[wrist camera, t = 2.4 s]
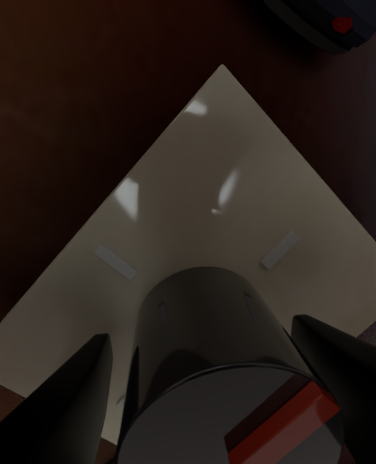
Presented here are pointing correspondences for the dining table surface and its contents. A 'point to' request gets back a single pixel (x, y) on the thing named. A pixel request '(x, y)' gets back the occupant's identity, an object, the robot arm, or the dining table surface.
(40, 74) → the dining table surface
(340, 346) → the robot arm
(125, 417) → the stove knob
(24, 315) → the panel
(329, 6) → the toy car
